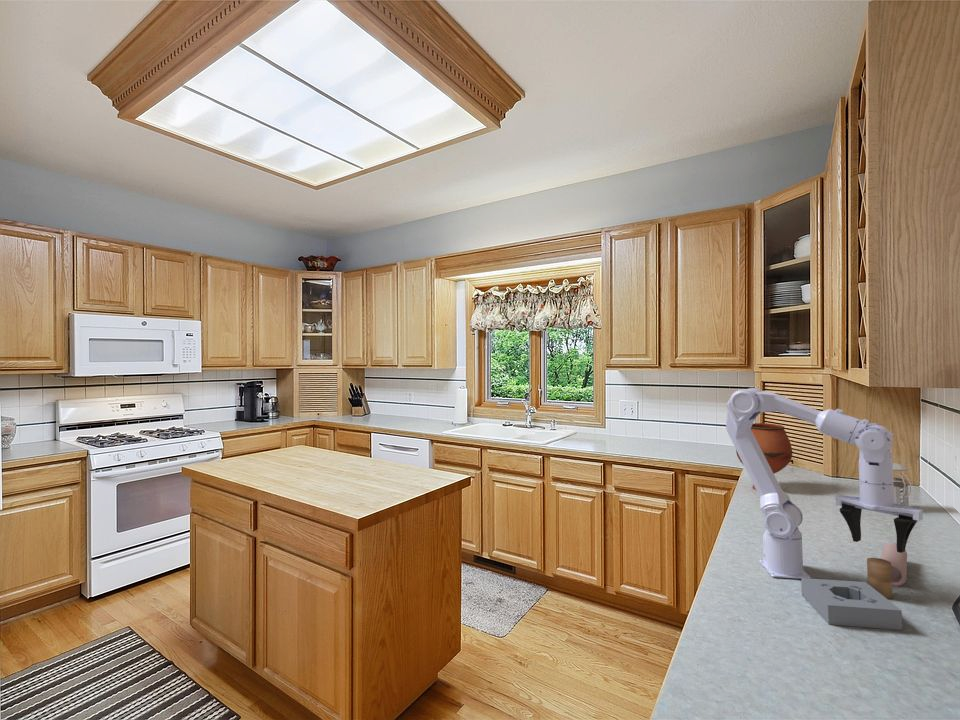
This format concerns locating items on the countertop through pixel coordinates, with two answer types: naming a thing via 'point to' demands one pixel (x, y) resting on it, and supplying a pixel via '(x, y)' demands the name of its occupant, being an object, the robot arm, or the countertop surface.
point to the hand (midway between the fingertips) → (878, 545)
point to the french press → (900, 485)
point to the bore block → (851, 604)
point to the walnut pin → (880, 576)
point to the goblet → (772, 445)
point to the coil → (896, 563)
